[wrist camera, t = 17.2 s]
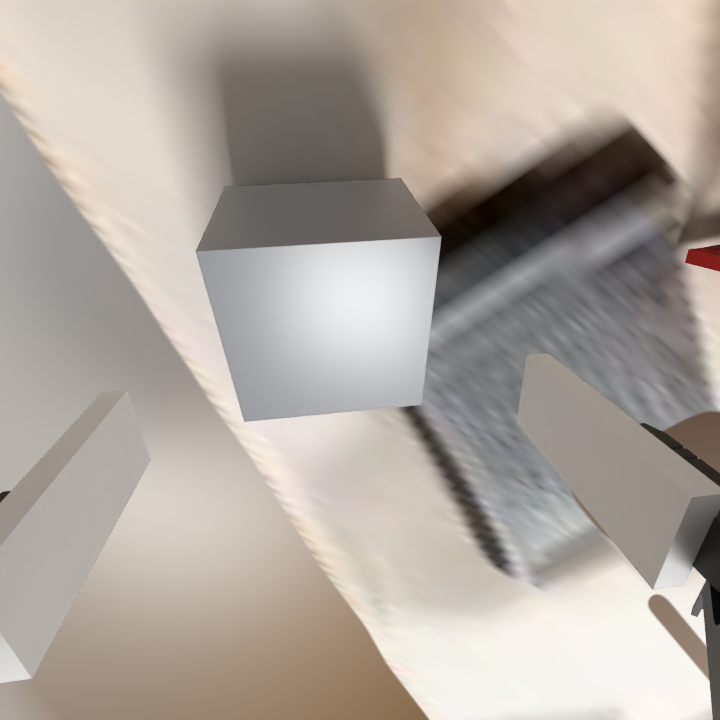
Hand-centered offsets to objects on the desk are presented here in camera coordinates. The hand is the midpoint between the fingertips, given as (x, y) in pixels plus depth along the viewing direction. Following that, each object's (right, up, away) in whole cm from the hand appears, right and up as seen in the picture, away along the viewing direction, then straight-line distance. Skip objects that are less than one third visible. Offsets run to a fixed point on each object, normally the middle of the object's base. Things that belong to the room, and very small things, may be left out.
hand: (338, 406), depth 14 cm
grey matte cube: (-2, +8, +13) cm, 15 cm away
